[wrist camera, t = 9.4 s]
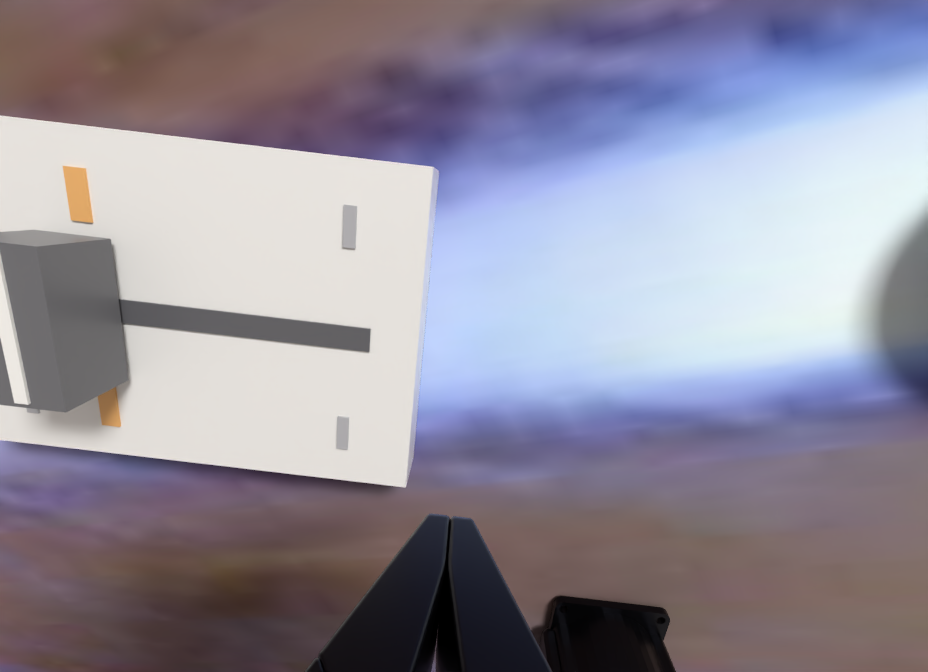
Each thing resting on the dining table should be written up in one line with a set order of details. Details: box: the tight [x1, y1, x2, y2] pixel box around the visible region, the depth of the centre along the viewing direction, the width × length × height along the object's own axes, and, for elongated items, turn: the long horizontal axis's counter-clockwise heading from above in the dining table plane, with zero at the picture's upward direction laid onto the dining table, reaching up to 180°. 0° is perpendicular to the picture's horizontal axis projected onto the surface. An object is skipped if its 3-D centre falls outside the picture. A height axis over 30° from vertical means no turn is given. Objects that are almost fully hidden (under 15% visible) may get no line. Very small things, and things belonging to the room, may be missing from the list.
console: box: [0, 116, 439, 487], centre depth 19 cm, size 20×14×3 cm
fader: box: [0, 230, 129, 412], centre depth 16 cm, size 3×6×3 cm, turn 174°
